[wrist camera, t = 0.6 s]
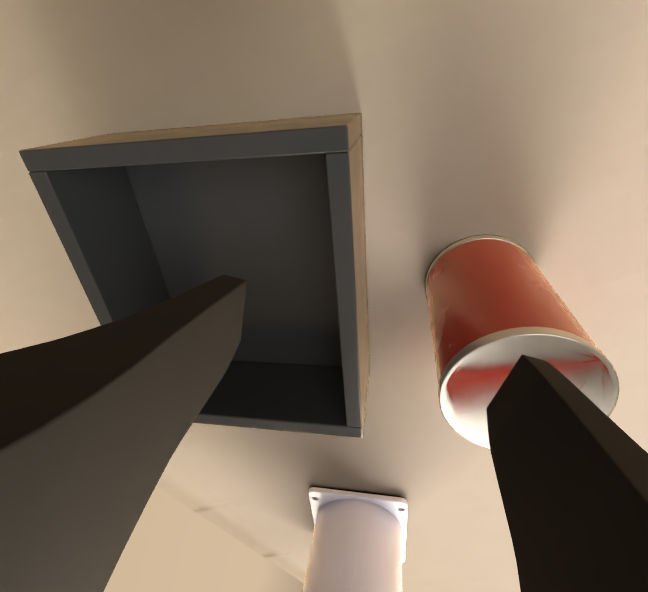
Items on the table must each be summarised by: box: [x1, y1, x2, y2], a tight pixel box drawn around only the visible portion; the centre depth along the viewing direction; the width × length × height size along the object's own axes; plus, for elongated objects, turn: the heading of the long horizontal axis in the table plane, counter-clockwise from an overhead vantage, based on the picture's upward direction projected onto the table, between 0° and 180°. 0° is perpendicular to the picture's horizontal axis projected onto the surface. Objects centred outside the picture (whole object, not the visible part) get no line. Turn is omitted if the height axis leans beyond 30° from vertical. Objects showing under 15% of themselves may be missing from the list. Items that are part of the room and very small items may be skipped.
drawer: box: [19, 113, 370, 438], centre depth 18 cm, size 15×13×5 cm
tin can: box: [425, 235, 619, 448], centre depth 15 cm, size 5×5×8 cm
